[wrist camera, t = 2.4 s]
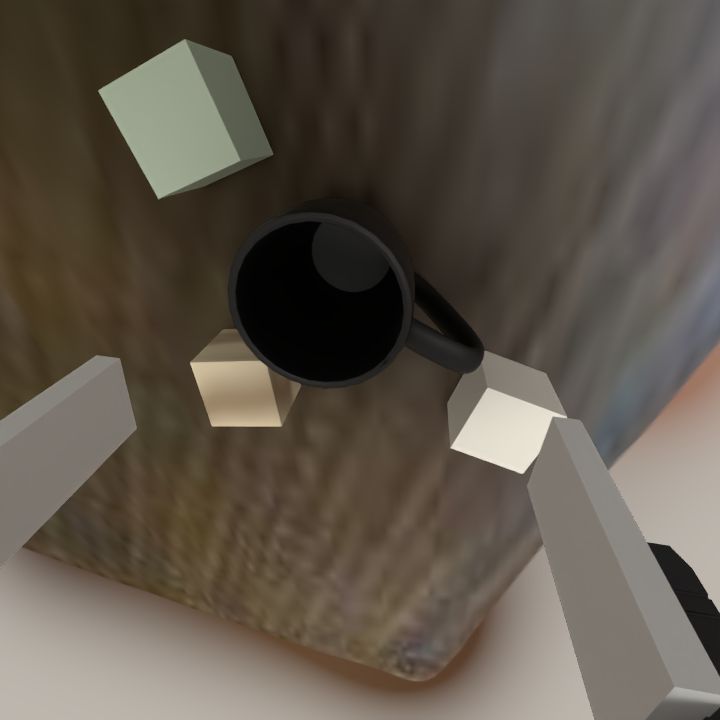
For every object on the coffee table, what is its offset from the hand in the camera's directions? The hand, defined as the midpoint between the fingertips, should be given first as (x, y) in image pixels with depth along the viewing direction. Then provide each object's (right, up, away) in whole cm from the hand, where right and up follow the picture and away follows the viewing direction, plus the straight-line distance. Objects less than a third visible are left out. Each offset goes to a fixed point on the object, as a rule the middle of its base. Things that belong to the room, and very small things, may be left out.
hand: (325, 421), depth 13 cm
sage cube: (-7, +15, +11) cm, 20 cm away
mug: (+2, +8, +14) cm, 16 cm away
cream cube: (+11, 0, +17) cm, 20 cm away
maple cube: (-6, +2, +18) cm, 19 cm away
